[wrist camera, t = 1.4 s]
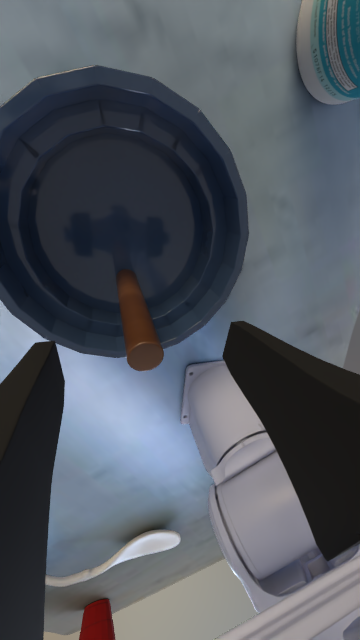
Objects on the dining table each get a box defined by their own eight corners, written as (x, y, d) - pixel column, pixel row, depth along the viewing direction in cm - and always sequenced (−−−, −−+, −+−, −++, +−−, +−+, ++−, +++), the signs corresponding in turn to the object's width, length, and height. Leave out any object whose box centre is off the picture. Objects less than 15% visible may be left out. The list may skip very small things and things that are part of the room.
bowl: (205, 319, 23) (225, 345, 19) (32, 333, 19) (15, 370, 15) (235, 122, 16) (276, 103, 12) (-41, 72, 11) (-110, 19, 8)
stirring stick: (136, 287, 19) (163, 369, 11) (116, 288, 18) (127, 374, 10) (136, 268, 18) (165, 340, 10) (115, 269, 18) (126, 344, 9)
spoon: (-29, 572, 34) (-41, 608, 31) (180, 514, 44) (186, 537, 41) (-14, 592, 38) (-24, 626, 35) (174, 535, 48) (178, 557, 45)
